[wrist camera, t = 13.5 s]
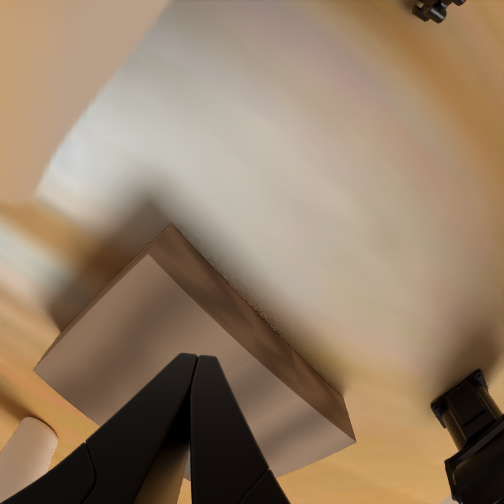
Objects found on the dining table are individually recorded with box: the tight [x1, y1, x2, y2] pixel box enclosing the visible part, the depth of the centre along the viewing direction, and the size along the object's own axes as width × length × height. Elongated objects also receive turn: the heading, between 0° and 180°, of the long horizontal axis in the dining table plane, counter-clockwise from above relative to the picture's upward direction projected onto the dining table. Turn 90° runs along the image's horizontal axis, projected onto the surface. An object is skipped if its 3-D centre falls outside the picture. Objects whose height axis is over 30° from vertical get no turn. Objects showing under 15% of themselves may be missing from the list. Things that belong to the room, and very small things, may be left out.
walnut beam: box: [33, 223, 356, 481], centre depth 21 cm, size 20×14×5 cm
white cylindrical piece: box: [0, 417, 58, 503], centre depth 21 cm, size 7×7×15 cm
